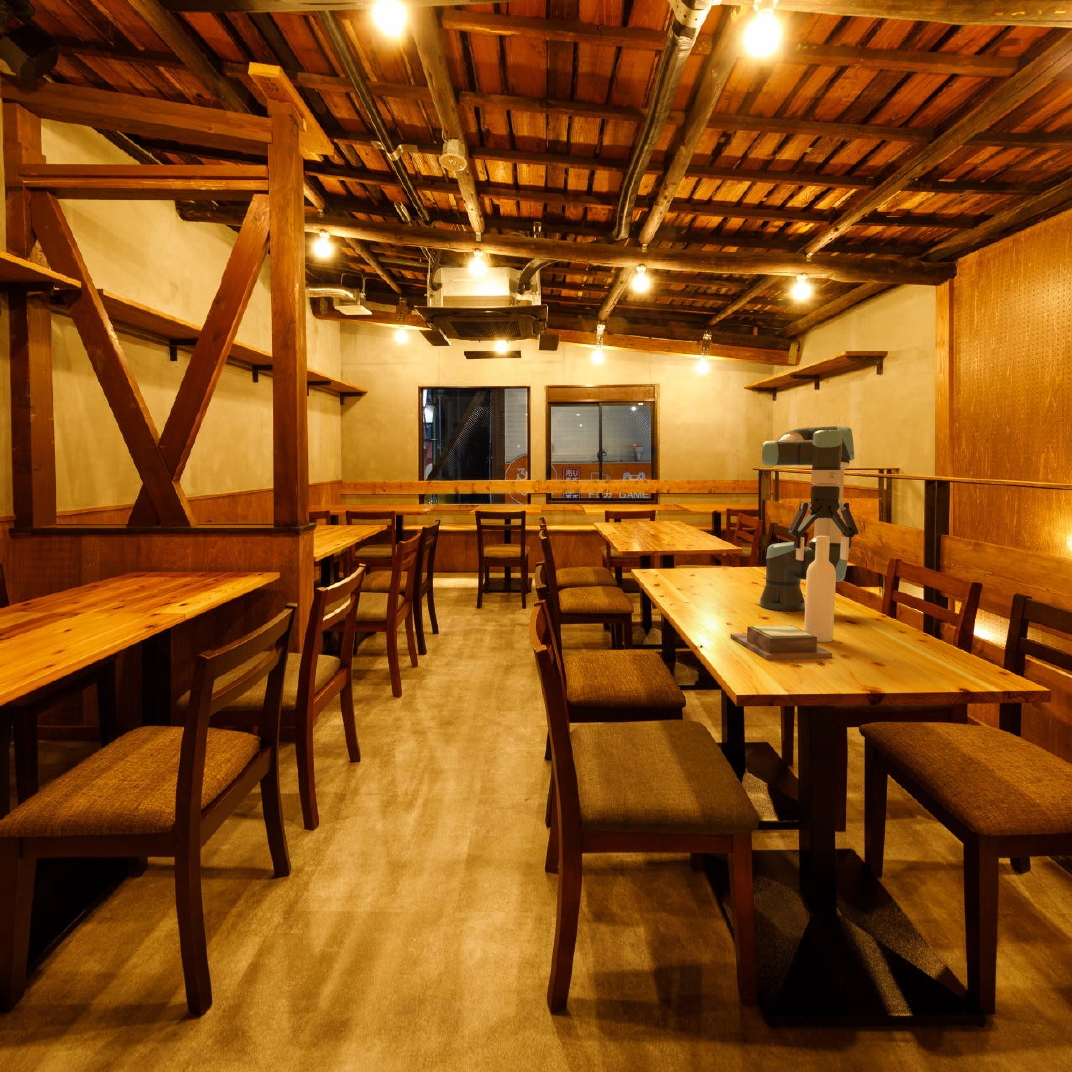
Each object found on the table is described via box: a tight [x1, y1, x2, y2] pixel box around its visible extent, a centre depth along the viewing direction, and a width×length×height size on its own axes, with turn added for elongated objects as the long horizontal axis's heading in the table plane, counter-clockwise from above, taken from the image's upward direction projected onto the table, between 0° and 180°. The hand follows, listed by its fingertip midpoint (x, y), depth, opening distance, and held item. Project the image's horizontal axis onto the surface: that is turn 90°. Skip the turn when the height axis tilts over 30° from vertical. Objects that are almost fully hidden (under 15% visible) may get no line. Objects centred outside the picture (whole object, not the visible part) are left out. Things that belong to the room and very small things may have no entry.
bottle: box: [803, 536, 837, 643], centre depth 182 cm, size 8×8×30 cm
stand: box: [729, 624, 833, 661], centre depth 174 cm, size 22×18×6 cm
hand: (821, 559), depth 181 cm, fingers open, 13 cm apart
